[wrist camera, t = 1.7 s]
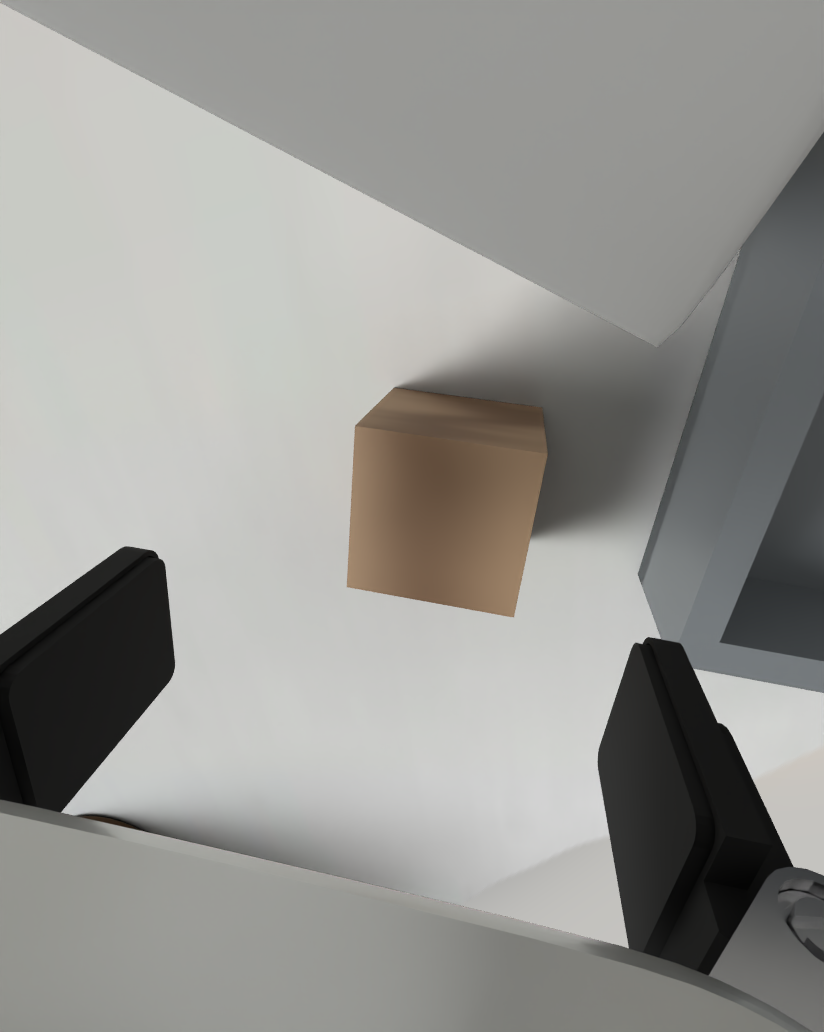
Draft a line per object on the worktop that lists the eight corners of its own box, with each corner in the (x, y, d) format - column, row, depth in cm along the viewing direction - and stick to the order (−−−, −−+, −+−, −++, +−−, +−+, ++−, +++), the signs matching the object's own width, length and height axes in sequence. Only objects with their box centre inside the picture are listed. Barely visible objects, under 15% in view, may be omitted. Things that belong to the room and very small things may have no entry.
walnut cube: (541, 407, 18) (547, 453, 14) (515, 539, 21) (513, 617, 16) (394, 387, 19) (355, 425, 15) (384, 518, 21) (347, 586, 17)
